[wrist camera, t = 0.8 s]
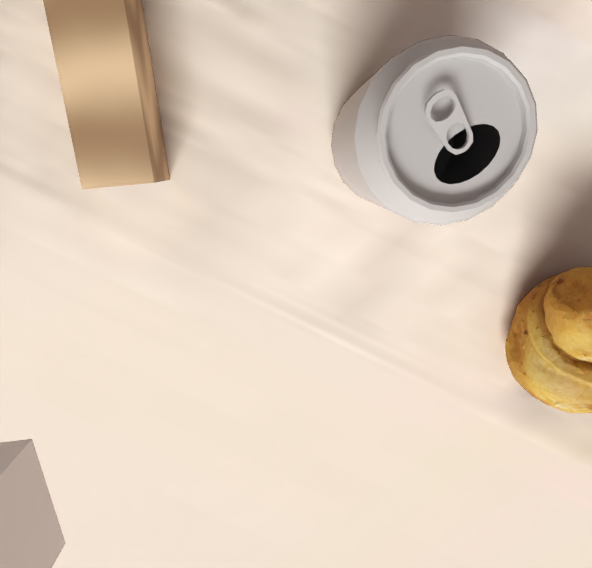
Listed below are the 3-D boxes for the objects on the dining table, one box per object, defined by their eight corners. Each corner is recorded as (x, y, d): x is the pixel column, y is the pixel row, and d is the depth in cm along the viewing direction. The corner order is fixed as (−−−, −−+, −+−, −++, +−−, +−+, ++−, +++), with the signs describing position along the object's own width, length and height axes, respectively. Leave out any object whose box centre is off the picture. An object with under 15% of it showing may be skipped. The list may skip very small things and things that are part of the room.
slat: (43, -156, 25) (-1, -213, 21) (117, -163, 25) (87, -221, 21) (108, 185, 30) (82, 189, 26) (170, 179, 30) (153, 182, 26)
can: (375, 227, 30) (432, 268, 19) (305, 132, 29) (321, 113, 17) (471, 154, 29) (593, 150, 18) (404, 51, 28) (491, -26, 16)
